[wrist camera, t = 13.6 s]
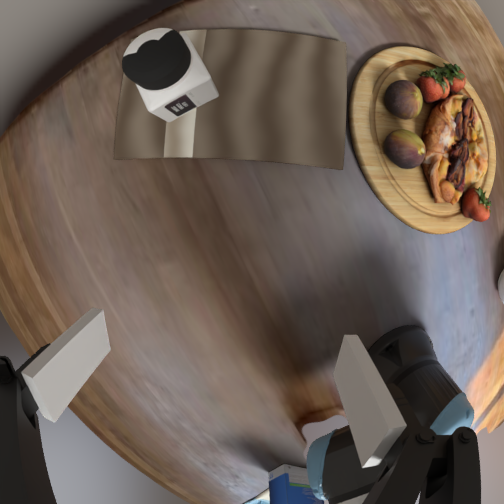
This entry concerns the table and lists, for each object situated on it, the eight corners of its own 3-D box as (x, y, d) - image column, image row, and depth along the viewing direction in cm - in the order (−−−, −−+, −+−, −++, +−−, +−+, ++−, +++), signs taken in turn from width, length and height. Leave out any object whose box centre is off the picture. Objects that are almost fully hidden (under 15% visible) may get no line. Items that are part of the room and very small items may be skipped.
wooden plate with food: (499, 207, 36) (527, 213, 28) (378, 257, 39) (403, 275, 31) (456, 52, 28) (480, 40, 20) (314, 57, 31) (327, 31, 23)
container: (220, 96, 31) (202, 58, 19) (168, 123, 32) (127, 101, 20) (197, 55, 29) (172, 8, 17) (148, 81, 30) (105, 48, 18)
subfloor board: (343, 46, 30) (346, 42, 28) (339, 169, 35) (343, 169, 34) (134, 42, 29) (130, 38, 28) (118, 159, 35) (113, 159, 33)
